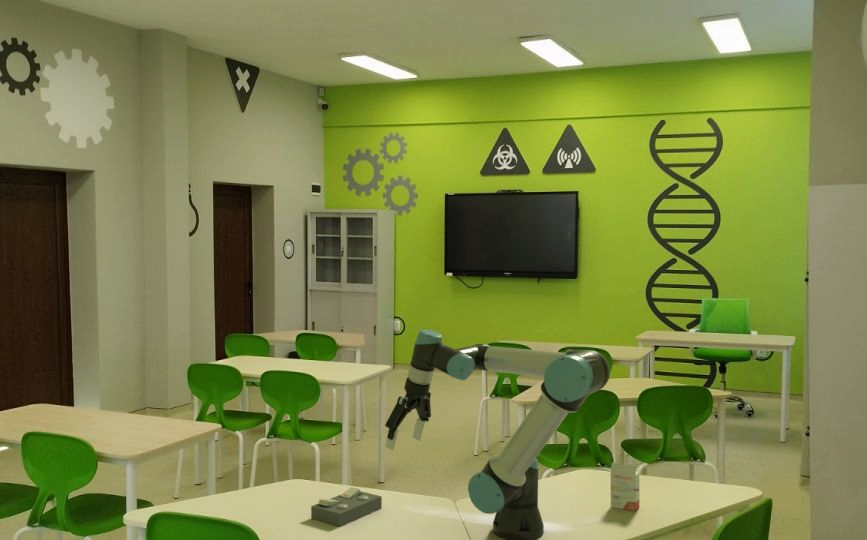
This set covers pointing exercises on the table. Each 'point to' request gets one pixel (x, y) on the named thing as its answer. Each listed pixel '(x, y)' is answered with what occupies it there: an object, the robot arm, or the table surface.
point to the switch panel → (346, 509)
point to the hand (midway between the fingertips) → (403, 443)
